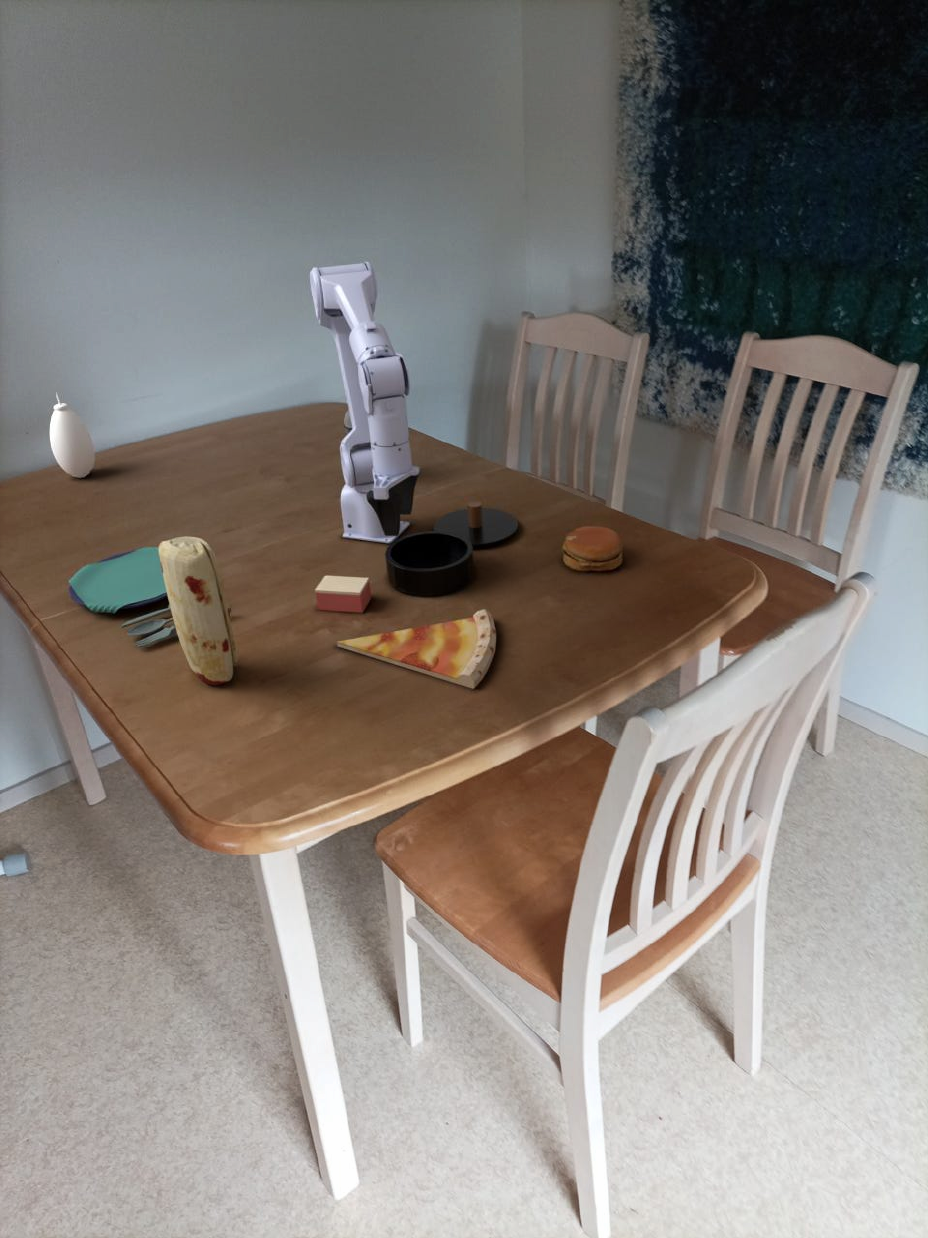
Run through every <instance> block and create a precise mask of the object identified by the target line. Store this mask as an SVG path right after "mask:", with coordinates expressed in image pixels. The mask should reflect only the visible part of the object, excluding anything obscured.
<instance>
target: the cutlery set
mask: <svg viewBox="0 0 928 1238" xmlns="http://www.w3.org/2000/svg"><path fill="white" fill-rule="evenodd" d="M158 548H159V546H156V547H155V546H151V547H149V546H145V547H142V548H139V549H136V550H130V551H126V552H122V553H118V554H114V555H111V556H109V557H107V558H104V559H101V560H99V561H97V562H93V563H90V564H86V565H84V566H83V567H82V568H80V569H79V571H77V572H76V573H75V574H74V575H73V576H72V577H71V578H69V580H68V581H67V582H68V583H69V587H68V592H69V595H70V599H71V600H73V601H74V602H75V603H77V604H78V605H79V606H82V607H86V608H88V609H89V610H90V611H91V612H93V613H99V614H100V613H103V614H104V613H108V614H115V613H116V612H117V611H118V610H126V609H132V608H133V609H134V608H138V607H142V606H146V605H149V604H153V603H156V602H158V601H161V600H164V599H165V598H168V595H167V591H166V587H165V582H164V577H163V572H162V568H161V563H160V557H159V551H158ZM228 608H229V613H230V614H231V613H232V608H231V606H229V605H228ZM169 612H170V613H171V614H172V612H171V607H170V604H168V605H167V608H164V609H159V610H156V611H152V612H150V613H147V614H144V615H142V616H139V617H136V618H133V619H130V620H128V621H126V622H124V623H122V624H121V625H120V627H121V629H124V628H127V627H129V626H132V625H134V626H132V627H131V628H130V629H129V630H127V632H126V634H127V636H129V637H142V636H143V637H144V636H148V635H149V636H148V637H145V638H143V639H141V640H138V641H135V642H134V644H135V646H136V647H137V648H143V647H147V646H149V645H151V644H154V643H157V642H161V641H166V640H168V639H170V638H173V637H174V636H175V635H178V634H177V631H176V627H175V625H171V626H170V627H164V626H165V625H167V624H169V623H171V622H174V620H173V616H172V617H170V618H169V619H164V618H161V619H160V618H159V619H152V618H155V617H158V616H160V615H164V614H167V613H169ZM149 619H151V620H149ZM143 621H144V622H143ZM138 623H139V624H138ZM135 624H136V625H135ZM163 627H164V628H163ZM162 628H163V629H162ZM161 629H162V630H161Z"/></svg>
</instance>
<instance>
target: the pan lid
mask: <svg viewBox="0 0 928 1238" xmlns="http://www.w3.org/2000/svg"><path fill="white" fill-rule="evenodd" d="M518 528H519V523H518V520H517V518H515V516H514V515H512V514H510V513H509V512H506V511H505V510H500V509H496V508H491V507H483V504H482V502H481V501H476V500H473V501H469V502H468V503H467V508H462V509H457V510H455V511H451V512H448V513H447V514H444V515H442V516H441V517H439V518H438V519H437V520H436V521H435V522H434V525H433V531H442V532H449V533H454V534H457V535H460V536H463V537H464V538H466V539H467V540H469V541H470V543H471V545H472V546H473V548H479V547H486V546H487V547H488V546H493V545H496V544H499V543H502V542H505V541H507V540H509V539H511V538H512V537H513V536H514V535H515V534H517V532H518Z"/></svg>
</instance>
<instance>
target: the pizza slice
mask: <svg viewBox="0 0 928 1238" xmlns="http://www.w3.org/2000/svg"><path fill="white" fill-rule="evenodd" d="M496 644H497V630H496V627H495V622H494V617H493V615H492V614H491V612H490V611H488V610H487V609H486V608H484V609H481V610H477V611H476V612H475V613H474V614H473V615H472V617H468V618H462V619H456V620H450V621H445V622H440V623H439V622H438V623H434V624H429V625H422V626H418V627H411V628H406V629H401V630H396V631H395V630H394V631H389V632H383V633H378V634H372V635H367V636H361V637H356V638H350V639H346V640H340V641H339V640H338V641H336V645H337V646H336V647H339V648H341V649H345V650H348V651H352V652H355V653H358V654H360V655H364V656H367V657H371V658H373V659H377V660H380V661H383V662H387V663H390V664H393V665H395V666H399V667H402V668H405V669H408V670H412V671H415V672H418V673H421V674H425V675H428V676H431V677H434V678H437V679H440V680H443V681H447V682H450V683H453V684H456V685H460V686H463V687H465V688H469V689H472V690H473V689H475V688H476V687H478V685H479V684H480V682H481V681H482V680H483V679H484V677H485V675H486V674H487V672H488V671H489V668H490V666H491V663H492V661H493V659H494V655H495V653H496V646H497V645H496Z"/></svg>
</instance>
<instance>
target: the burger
mask: <svg viewBox="0 0 928 1238" xmlns="http://www.w3.org/2000/svg"><path fill="white" fill-rule="evenodd" d="M623 547H624V546H623V542H622V540H621V537H620V535H619V534H618V533H617V532H616V531H615V530H613V529H610V528H608V527H603V526H594V525H593V526H592V525H591V526H590V525H588V526H587V525H586V526H580V527H578V528H576V529H574V530H573V531H571V532H569V533H567V534H566V535H565V538H564V542H563V545H562V550H561V552H562V554H563V557H562V558H563V559H562V560H563V563H564V565H566V566H567V567H568V568H570V569H572V570H574V571H577V572H590V571H593V572H594V571H595V572H604V571H611V570H615V569H616V568H618V567H619V566H620V565H621V564H622V562H623V552H622V551H623Z"/></svg>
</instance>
